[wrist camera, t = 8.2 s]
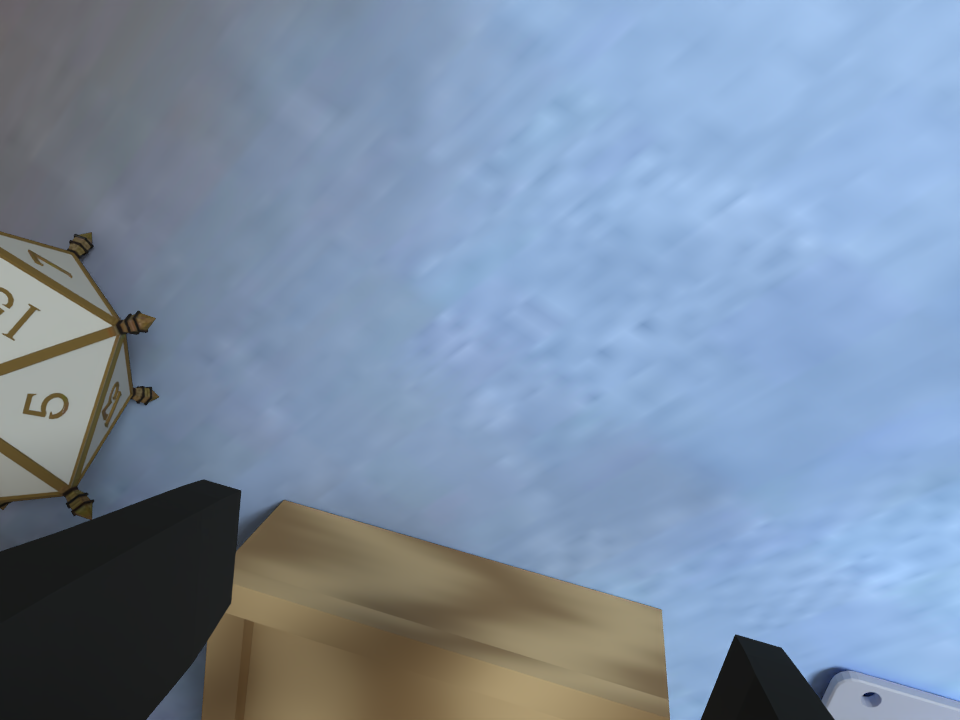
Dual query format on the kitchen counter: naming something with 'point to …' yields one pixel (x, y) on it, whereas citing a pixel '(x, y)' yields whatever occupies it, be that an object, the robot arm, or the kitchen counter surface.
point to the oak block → (419, 634)
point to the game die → (58, 370)
